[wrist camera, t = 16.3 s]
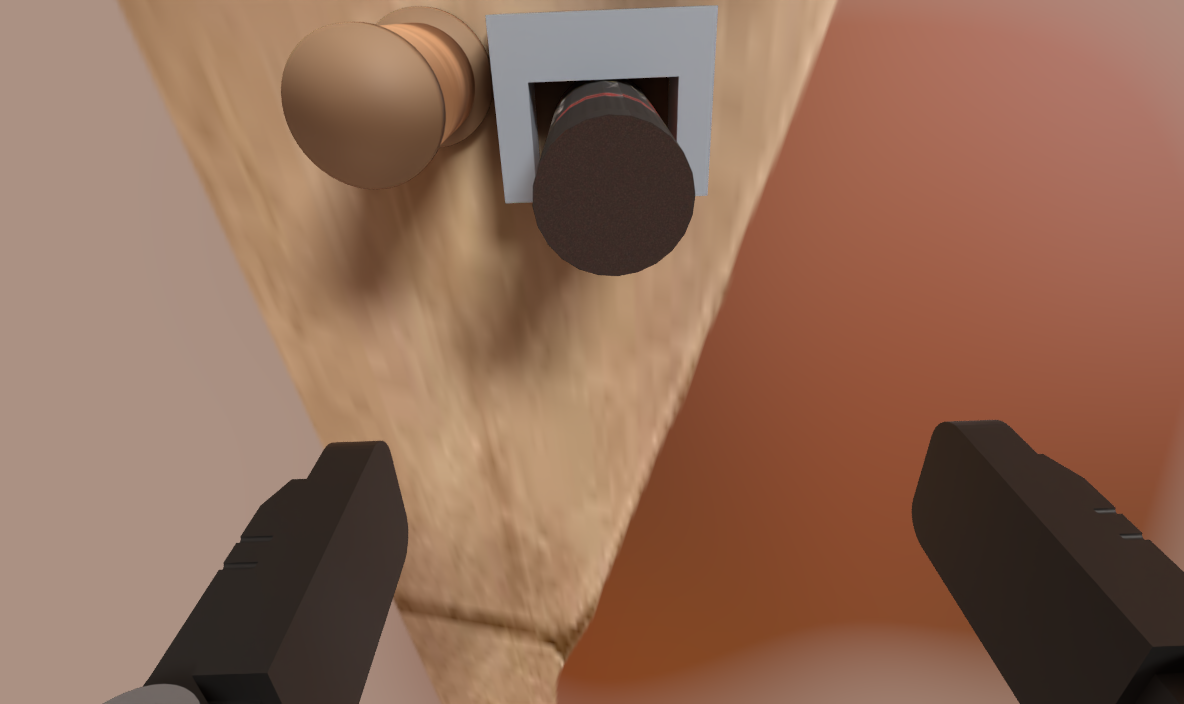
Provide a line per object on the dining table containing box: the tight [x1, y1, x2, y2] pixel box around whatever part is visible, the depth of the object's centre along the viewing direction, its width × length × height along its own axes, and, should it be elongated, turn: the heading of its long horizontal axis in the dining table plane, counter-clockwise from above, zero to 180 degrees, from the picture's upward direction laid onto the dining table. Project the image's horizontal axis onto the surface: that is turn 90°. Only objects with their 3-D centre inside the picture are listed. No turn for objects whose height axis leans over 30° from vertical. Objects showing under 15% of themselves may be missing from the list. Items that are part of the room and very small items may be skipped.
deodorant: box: [533, 79, 695, 276], centre depth 29 cm, size 6×6×15 cm
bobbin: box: [281, 7, 493, 189], centre depth 29 cm, size 7×7×12 cm
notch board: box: [485, 6, 718, 203], centre depth 33 cm, size 9×11×4 cm
